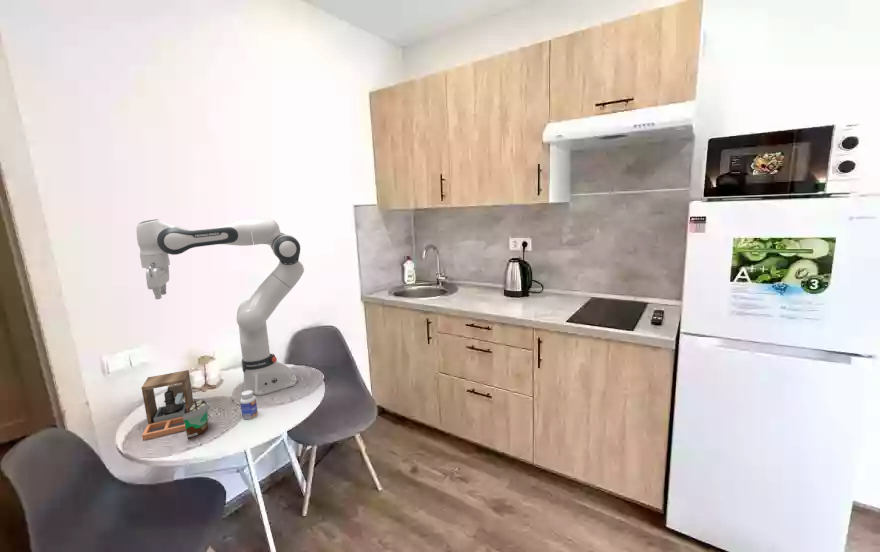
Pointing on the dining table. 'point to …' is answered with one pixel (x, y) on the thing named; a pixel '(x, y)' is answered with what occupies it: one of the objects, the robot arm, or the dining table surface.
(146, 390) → the tunnel
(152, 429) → the orange flat frame
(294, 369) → the dining table surface
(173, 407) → the dark grey upright piece
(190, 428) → the food container
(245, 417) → the pill bottle
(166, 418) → the grey piece
